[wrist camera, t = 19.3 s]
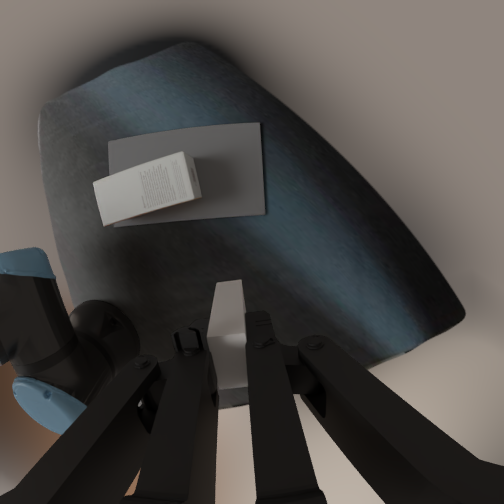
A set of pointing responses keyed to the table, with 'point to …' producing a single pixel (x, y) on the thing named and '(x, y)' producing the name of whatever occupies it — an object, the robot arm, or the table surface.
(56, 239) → the table surface
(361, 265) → the table surface
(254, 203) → the mat
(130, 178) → the small box
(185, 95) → the table surface
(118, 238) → the table surface
